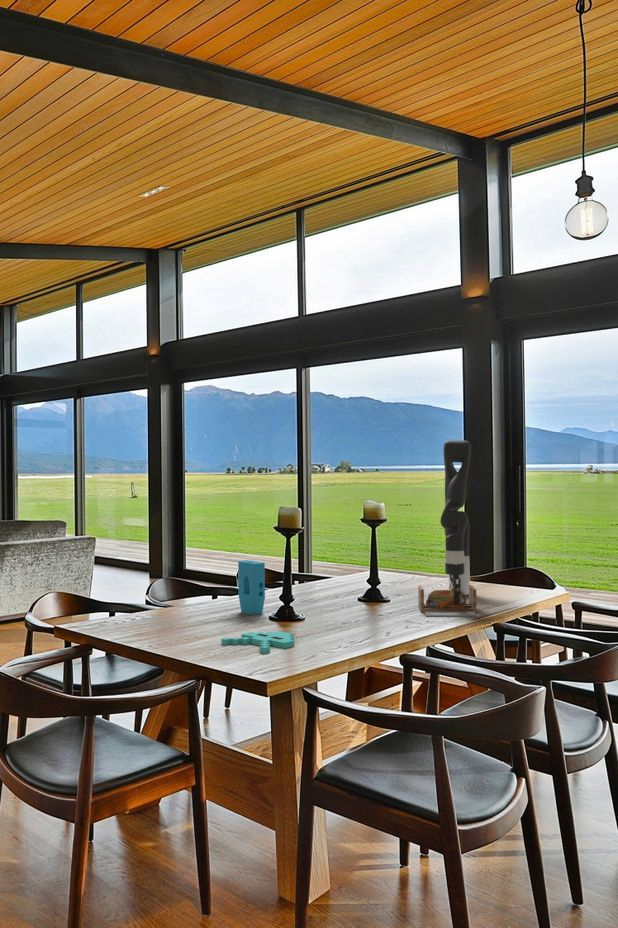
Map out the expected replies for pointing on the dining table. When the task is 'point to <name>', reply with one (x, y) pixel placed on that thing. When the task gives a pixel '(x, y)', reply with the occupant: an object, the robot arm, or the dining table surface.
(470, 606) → the rack
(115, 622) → the dining table surface
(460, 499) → the robot arm
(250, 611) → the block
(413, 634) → the dining table surface
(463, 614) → the felt mat
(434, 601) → the tin
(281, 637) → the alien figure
